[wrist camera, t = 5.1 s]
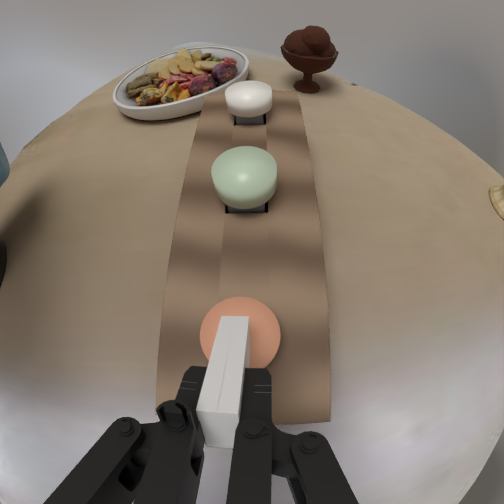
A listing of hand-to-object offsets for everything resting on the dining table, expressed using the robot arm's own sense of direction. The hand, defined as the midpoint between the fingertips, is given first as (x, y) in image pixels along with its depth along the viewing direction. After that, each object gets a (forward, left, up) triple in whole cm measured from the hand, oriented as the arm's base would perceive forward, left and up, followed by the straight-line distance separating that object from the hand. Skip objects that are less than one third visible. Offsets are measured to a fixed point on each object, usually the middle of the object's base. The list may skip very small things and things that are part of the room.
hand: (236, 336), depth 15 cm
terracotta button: (0, 0, -8) cm, 8 cm away
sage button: (-9, +9, -6) cm, 14 cm away
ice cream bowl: (-28, +43, -14) cm, 53 cm away
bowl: (-49, +26, -14) cm, 57 cm away
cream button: (-17, +17, -6) cm, 25 cm away
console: (-9, +9, -14) cm, 18 cm away
